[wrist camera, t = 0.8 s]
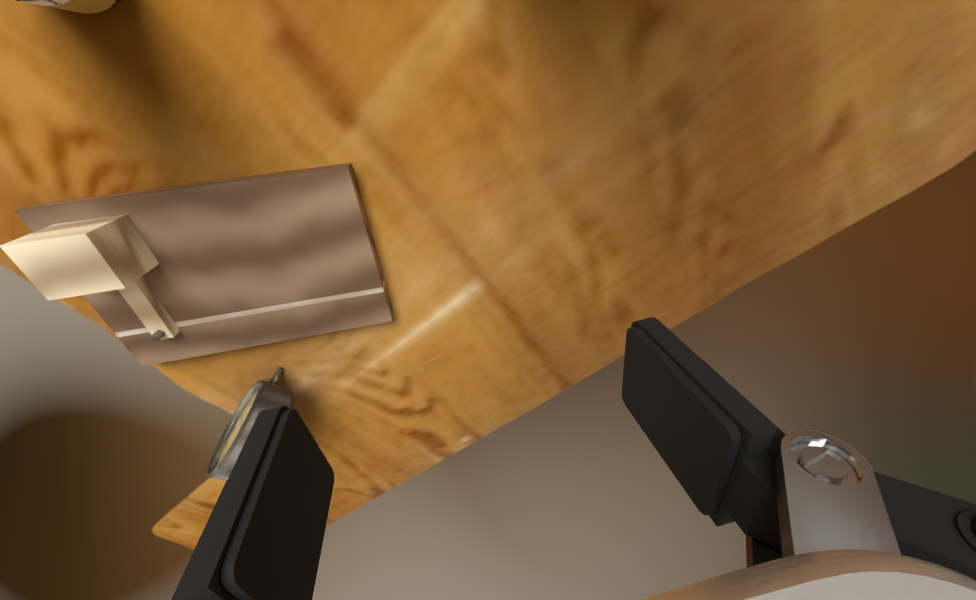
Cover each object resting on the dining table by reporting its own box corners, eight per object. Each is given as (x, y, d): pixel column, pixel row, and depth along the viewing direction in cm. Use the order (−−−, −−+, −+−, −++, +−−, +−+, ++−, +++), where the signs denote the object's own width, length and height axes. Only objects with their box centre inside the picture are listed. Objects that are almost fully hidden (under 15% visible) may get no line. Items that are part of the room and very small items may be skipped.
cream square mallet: (53, 224, 32) (-1, 245, 28) (127, 214, 32) (85, 233, 28) (141, 337, 39) (108, 368, 34) (200, 327, 39) (175, 356, 35)
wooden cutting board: (35, 204, 32) (14, 211, 31) (350, 163, 35) (347, 167, 34) (152, 355, 42) (142, 366, 40) (393, 312, 45) (392, 321, 43)
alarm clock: (272, 356, 45) (214, 474, 32) (313, 373, 48) (276, 490, 34) (233, 409, 48) (164, 538, 35) (273, 423, 51) (224, 548, 37)
